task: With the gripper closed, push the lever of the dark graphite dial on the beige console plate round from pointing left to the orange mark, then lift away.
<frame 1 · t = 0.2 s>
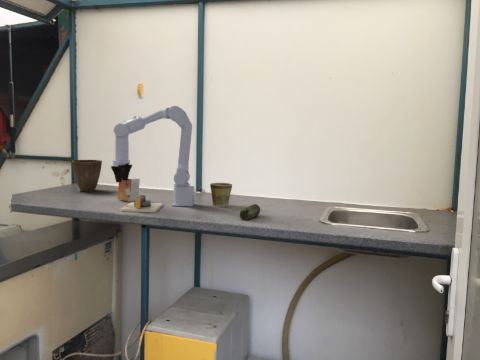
hand: (121, 181, 182), 10 cm above the worktop, tool pointing down, fingers open, 7 cm apart
plant pot: (87, 191, 216), on the worktop
ceramic cup: (221, 205, 187), on the worktop
small box: (127, 200, 190), on the worktop, touching gripper
vegetable: (250, 218, 162), on the worktop
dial: (141, 201, 170), point 3 cm above the worktop, hinge at 90.0°
console plate: (142, 208, 173), on the worktop
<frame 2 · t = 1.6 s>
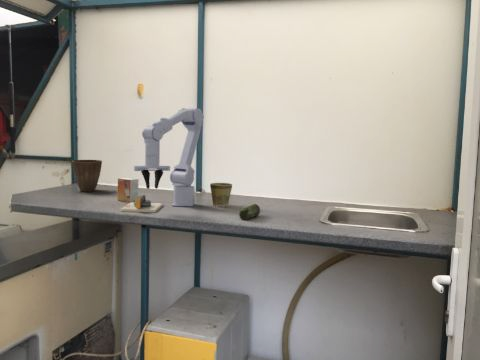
hand: (152, 188, 167), 9 cm above the worktop, tool pointing down, fingers open, 3 cm apart
small box: (127, 201, 190), on the worktop
everything else where it was.
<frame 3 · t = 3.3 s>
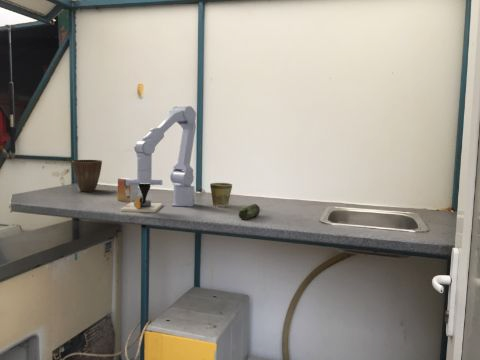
hand: (144, 202, 168), 3 cm above the worktop, tool pointing down, fingers closed, pressing on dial
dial: (141, 201, 170), point 3 cm above the worktop, hinge at 89.7°, touching gripper
everything else where it was.
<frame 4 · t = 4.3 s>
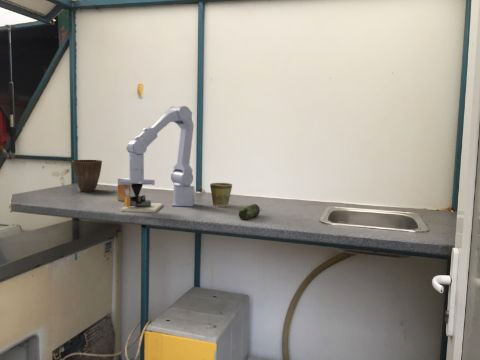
hand: (136, 201, 168), 3 cm above the worktop, tool pointing down, fingers closed, pressing on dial
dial: (138, 201, 171), point 3 cm above the worktop, hinge at 46.2°, touching gripper
everything else where it was.
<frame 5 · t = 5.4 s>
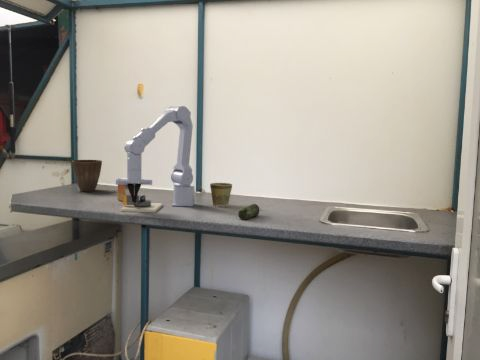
hand: (134, 201, 168), 3 cm above the worktop, tool pointing down, fingers closed
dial: (137, 200, 172), point 3 cm above the worktop, hinge at 11.0°
everything else where it was.
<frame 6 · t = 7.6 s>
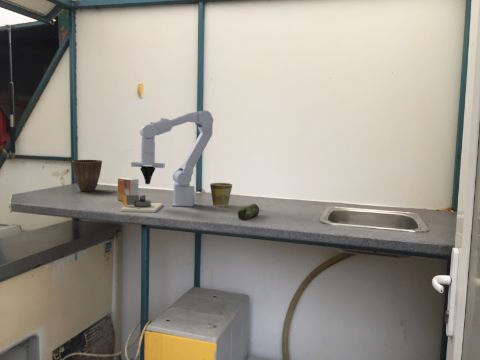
hand: (147, 183, 177), 10 cm above the worktop, tool pointing down, fingers closed
nothing on the worktop moved.
at the end: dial at +11° (first picture: +90°) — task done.
